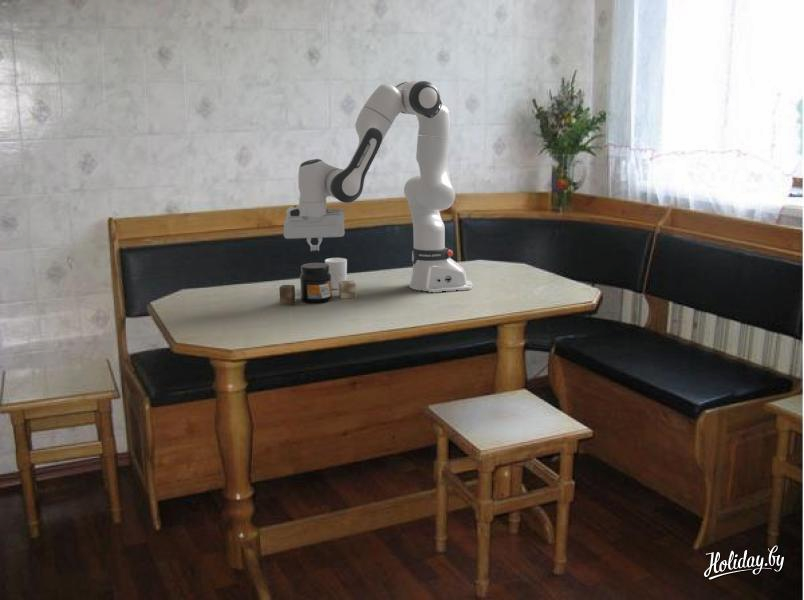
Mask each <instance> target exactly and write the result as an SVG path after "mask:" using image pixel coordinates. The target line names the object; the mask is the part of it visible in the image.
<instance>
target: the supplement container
mask: <svg viewBox="0 0 804 600" xmlns="http://www.w3.org/2000/svg"><path fill="white" fill-rule="evenodd" d="M300 271H301V274H300V276H299V280H300V281H299V282H300V300H302V302H304V303H307V304H323V303H328V302H329V301H331V300H332V299H333V298H332V297H333V294H332V289H331V274H330V273H329V271H330V266H329V265H328V264H326V263H325V262H310V263H305V264H302V265H301V266H300Z"/></svg>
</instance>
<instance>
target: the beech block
mask: <svg viewBox="0 0 804 600" xmlns="http://www.w3.org/2000/svg"><path fill="white" fill-rule="evenodd" d="M338 284H339V289H338V296H339V298H340V299H341V298H342V300H343V298H344V299H354V298H355V297H356V298H357V291H356V290H357V288H356V287H357V285H356V284H357V283H356V282H355V281H354V280H346V281H338Z"/></svg>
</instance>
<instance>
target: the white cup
mask: <svg viewBox="0 0 804 600" xmlns="http://www.w3.org/2000/svg"><path fill="white" fill-rule="evenodd" d="M324 263H326V264H328V265H329V266H330V271H329V273H330V274H331V290H339V284H338V281H347V276H348V275H347V274H348V273H347V272H348V259H347V258H344V257H331V258H326V259H324Z"/></svg>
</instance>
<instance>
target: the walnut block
mask: <svg viewBox="0 0 804 600" xmlns="http://www.w3.org/2000/svg"><path fill="white" fill-rule="evenodd" d="M295 289H296V288H295V284H282V285H281V286H279V289H278V290H279V306H293V305H294V304H295V303H296V291H295Z"/></svg>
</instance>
